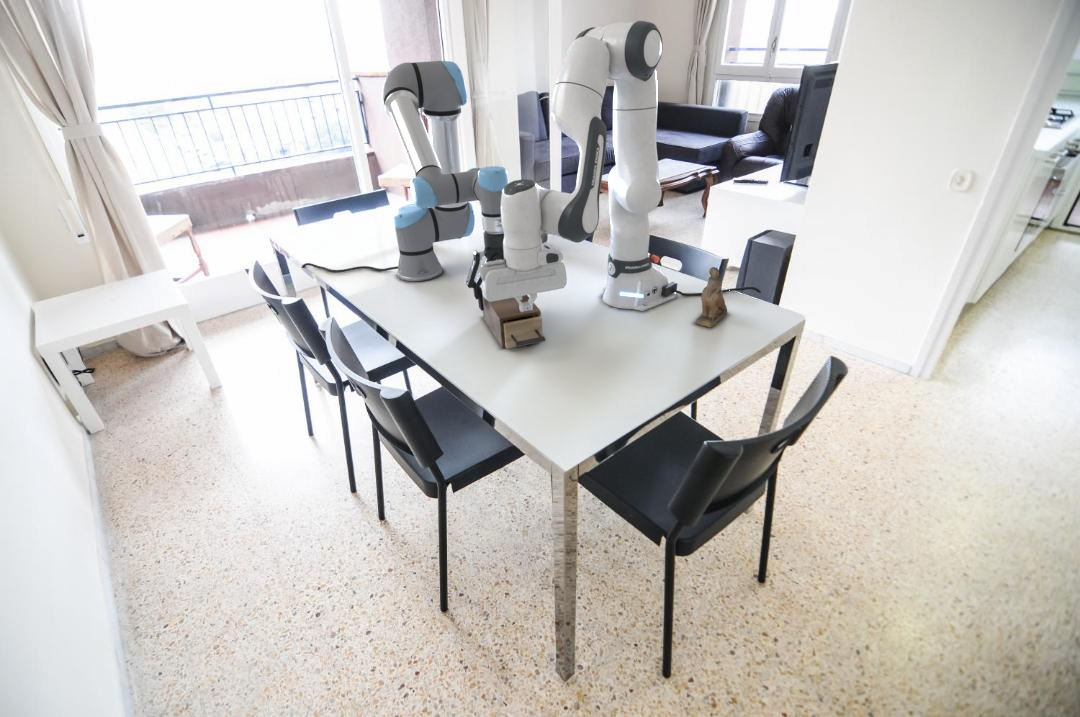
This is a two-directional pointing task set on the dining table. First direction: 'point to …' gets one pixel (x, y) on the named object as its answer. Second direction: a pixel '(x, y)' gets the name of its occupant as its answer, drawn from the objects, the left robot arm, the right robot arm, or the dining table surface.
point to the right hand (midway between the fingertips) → (526, 310)
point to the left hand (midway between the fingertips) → (503, 304)
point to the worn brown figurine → (712, 301)
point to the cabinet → (504, 314)
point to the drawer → (523, 331)
